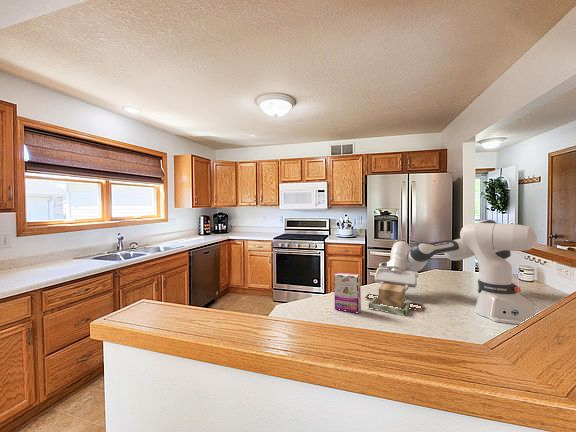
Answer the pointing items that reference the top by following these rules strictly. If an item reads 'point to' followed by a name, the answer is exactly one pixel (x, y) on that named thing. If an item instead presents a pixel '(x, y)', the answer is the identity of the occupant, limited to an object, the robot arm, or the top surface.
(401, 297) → the block
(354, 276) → the candy bar box
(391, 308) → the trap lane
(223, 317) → the top surface
